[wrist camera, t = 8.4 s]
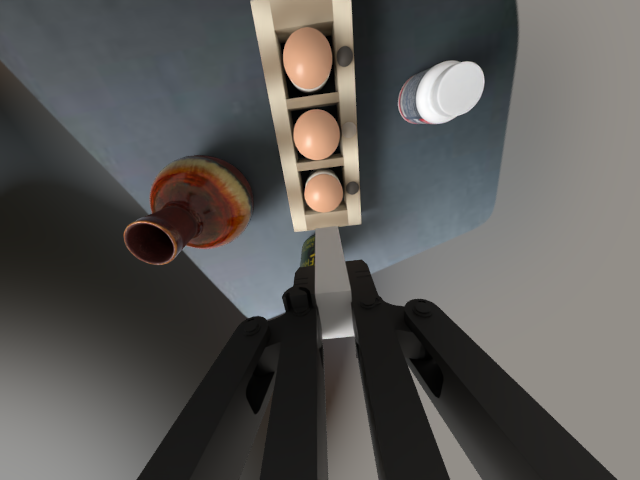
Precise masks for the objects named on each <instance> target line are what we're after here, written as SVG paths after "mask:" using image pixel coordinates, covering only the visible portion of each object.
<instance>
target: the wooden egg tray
mask: <svg viewBox="0 0 640 480" xmlns="http://www.w3.org/2000/svg"><path fill="white" fill-rule="evenodd" d="M250 2H251V8H252V13H253V18H254V23H255V28H256V34H257V39H258V44H259V49H260V54H261V60H262V65H263V70H264V75H265V80H266V86H267V91H268V96H269V101H270V106H271V112H272V117H273V122H274V127H275V133H276V138H277V143H278V148H279V153H280V159H281V164H282V169H283V174H284V179H285V185H286V190H287V195H288V200H289V205H290V211H291V216H292V221H293V226H294V231H295V232H299V231H307V230H315V229H316V228H324V227H333V226H338V227H341V226H350V225H358V224H361V206H360V183H359V161H358V139H357V117H356V94H355V72H354V50H353V27H352V5H351V0H254V1H250ZM304 27H310V28H314V29H316V30H318V31H320V32H321V33H322V34H323V35H324V36H330V35H331V39H332V52H333V64H334V77H335V90H336V92H334V93H327V94H320V95H313V96H306V97H299V98H292V99H289V96H288V89H287V83H286V77H285V71H284V64H283V58H282V52H281V45H280V43H285V42H287V40H288V38H289V37H290V35H291V34H292V33H293V32H295V31H296V30H298V29H300V28H304ZM330 105H337V116H338V126H339V131H340V139H339V141H340V154H332V155H330V156H329V157H327V158H325V159H322V160H312V159H309V158H302V159H298V153H297V147H296V145H295V142H294V127H293V121H292V115H291V111H295V110H302V109H309V108H316V107H323V106H330ZM336 166H341V167H342V180H343V193H344V201H341V203H340V204H339V206H338V207H337V208H335V209H334V210H332V211H330V212H324V213H323V212H317V211H315V210H313V209H312V208H310V207H309V205H306V203H305V197H304V191H303V184H302V178H301V172H300V171H305V170H313V169H321V168H328V167H336Z"/></svg>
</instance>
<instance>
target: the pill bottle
mask: <svg viewBox="0 0 640 480" xmlns="http://www.w3.org/2000/svg"><path fill="white" fill-rule="evenodd" d="M483 89H484V74H483V71H482V70H481V68H480V67H479V66H478V65H477V64H476V63H473V62H469V61H465V62H458V61H453V60H450V61H445V62H442V63H439V64H437V65H435V66H433V67H431V68H429V69H427V70H425V71H423V72H420V73H418V74H416V75H414V76H412V77H411V78H409V79H408V80H407V81H406V83H405V84H404V85H403V87H402V89H401V91H400V94H399V98H398V108H399V112H400V114H401V116H402V117H403V118H404V119H405V120H406V121H408V122H410V123H413V124H440V123H445V122H447V121H450V120H452V119H453V118H455V117H456V116H458V115H462V114H464V113H466V112H468V111H469V110H470V109H472V108H473V107H474V106H475V105H476V103H477V102H478V100H479V99H480V97H481V95H482V92H483Z"/></svg>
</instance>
